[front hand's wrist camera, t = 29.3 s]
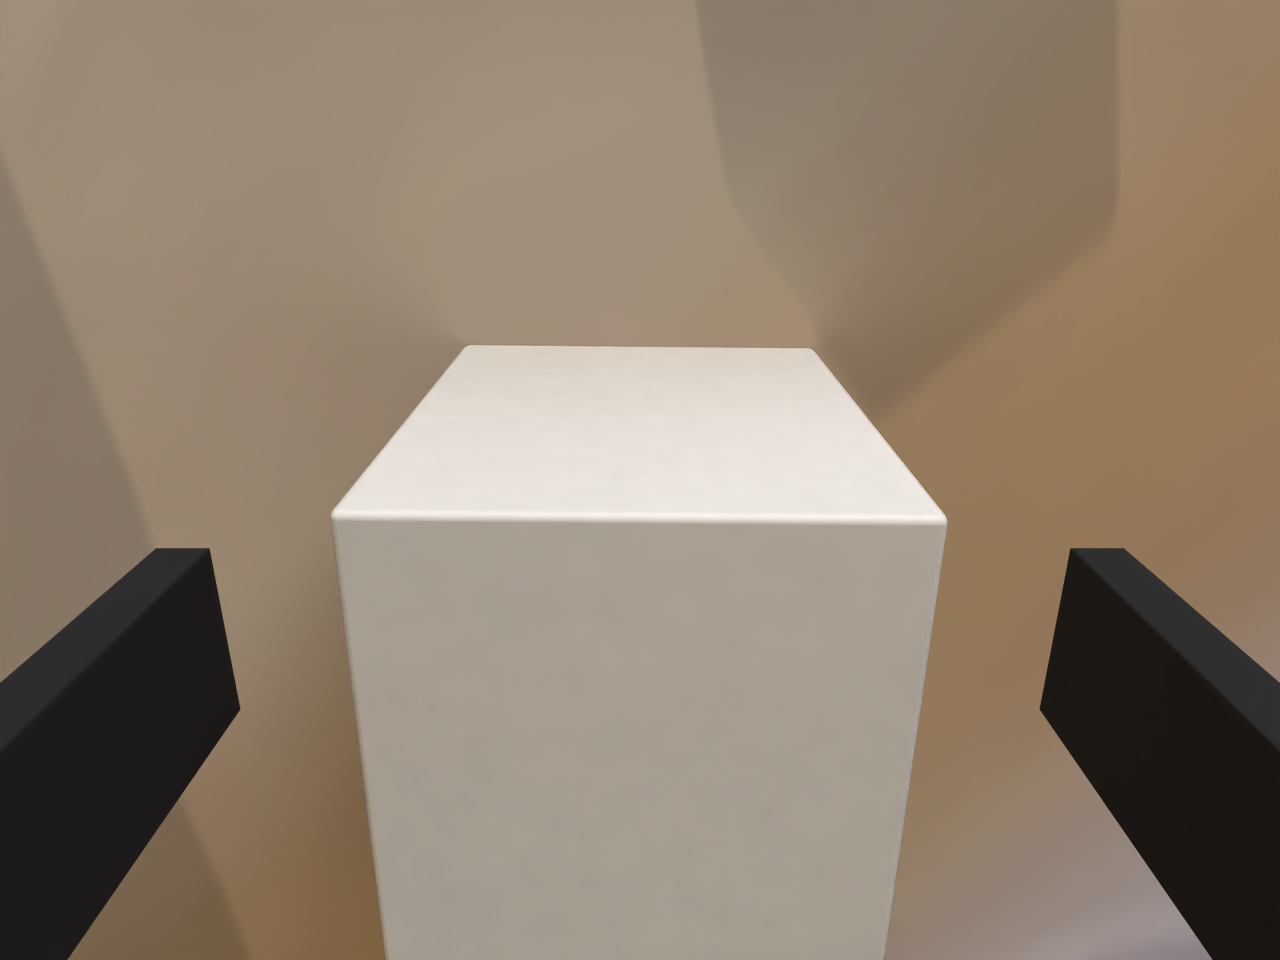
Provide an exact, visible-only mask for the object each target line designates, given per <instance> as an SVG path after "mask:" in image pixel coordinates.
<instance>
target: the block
mask: <svg viewBox="0 0 1280 960" xmlns="http://www.w3.org/2000/svg"><path fill="white" fill-rule="evenodd" d="M330 519H331V527H332V535H333V543H334V551H335V559H336V567H337V575H338V583H339V591H340V599H341V607H342V615H343V623H344V631H345V639H346V647H347V655H348V663H349V670H350V678H351V686H352V694H353V702H354V710H355V718H356V726H357V734H358V742H359V750H360V758H361V766H362V774H363V782H364V790H365V798H366V806H367V814H368V822H369V830H370V838H371V846H372V854H373V862H374V870H375V878H376V886H377V894H378V902H379V910H380V918H381V926H382V934H383V942H384V950H385V958H386V960H884V954H885V947H886V940H887V934H888V927H889V920H890V913H891V906H892V899H893V892H894V886H895V879H896V872H897V865H898V858H899V851H900V845H901V838H902V831H903V824H904V817H905V810H906V803H907V797H908V790H909V783H910V776H911V769H912V762H913V756H914V749H915V742H916V735H917V728H918V721H919V714H920V708H921V701H922V694H923V687H924V680H925V673H926V667H927V660H928V653H929V646H930V639H931V632H932V625H933V619H934V612H935V605H936V598H937V591H938V584H939V577H940V571H941V564H942V557H943V550H944V543H945V536H946V530H947V519H946V516H945V515H944V514H943V512H942V511H941V510H940V509H939V507H938V506H937V505H936V504H935V502H934V501H933V500H932V499H931V497H930V496H929V495H928V494H927V492H926V491H925V490H924V489H923V487H922V486H921V485H920V484H919V482H918V481H917V480H916V479H915V477H914V476H913V475H912V473H911V472H910V471H909V470H908V468H907V467H906V466H905V465H904V463H903V462H902V461H901V460H900V458H899V457H898V456H897V455H896V453H895V452H894V451H893V450H892V448H891V447H890V446H889V445H888V443H887V442H886V441H885V440H884V438H883V437H882V436H881V435H880V433H879V432H878V431H877V430H876V428H875V427H874V426H873V425H872V423H871V422H870V421H869V420H868V418H867V417H866V416H865V415H864V413H863V412H862V411H861V410H860V408H859V407H858V406H857V405H856V403H855V402H854V401H853V399H852V398H851V397H850V396H849V394H848V393H847V392H846V391H845V389H844V388H843V387H842V386H841V384H840V383H839V382H838V381H837V379H836V378H835V377H834V376H833V374H832V373H831V372H830V371H829V369H828V368H827V367H826V366H825V364H824V363H823V362H822V361H821V359H820V358H819V357H818V356H817V354H816V353H815V352H814V351H813V350H812V349H803V348H697V347H591V346H485V345H469V346H466V347H465V348H464V349H463V350H462V351H461V353H460V354H459V355H458V356H457V357H456V359H455V360H454V361H453V362H452V364H451V365H450V366H449V367H448V369H447V370H446V371H445V372H444V374H443V375H442V376H441V377H440V379H439V380H438V381H437V382H436V383H435V385H434V386H433V387H432V388H431V390H430V391H429V392H428V393H427V395H426V396H425V397H424V398H423V400H422V401H421V402H420V403H419V404H418V406H417V407H416V408H415V409H414V411H413V412H412V413H411V414H410V416H409V417H408V418H407V419H406V421H405V422H404V423H403V424H402V425H401V427H400V428H399V429H398V430H397V432H396V433H395V434H394V435H393V437H392V438H391V439H390V440H389V442H388V443H387V444H386V445H385V447H384V448H383V449H382V450H381V451H380V453H379V454H378V455H377V456H376V458H375V459H374V460H373V461H372V463H371V464H370V465H369V466H368V468H367V469H366V470H365V471H364V472H363V474H362V475H361V476H360V477H359V479H358V480H357V481H356V482H355V484H354V485H353V486H352V487H351V489H350V490H349V491H348V492H347V494H346V495H345V496H344V497H343V498H342V500H341V501H340V502H339V503H338V505H337V506H336V507H335V508H334V510H333V511H332V514H331V517H330Z"/></svg>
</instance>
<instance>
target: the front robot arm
mask: <svg viewBox="0 0 1280 960" xmlns="http://www.w3.org/2000/svg"><path fill="white" fill-rule="evenodd" d="M239 711H240V705H239V700H238V694H237V689H236V684H235V679H234V674H233V668H232V663H231V658H230V653H229V648H228V642H227V637H226V632H225V627H224V621H223V616H222V611H221V606H220V601H219V595H218V590H217V585H216V580H215V575H214V569H213V564H212V559H211V554H210V549H209V548H156V549H155V550H154V551H153V552H151V553H150V554H149V555H148V556H147V557H146V558H144V559H143V560H142V561H141V562H140V563H139V564H138V565H136V566H135V567H134V568H133V569H132V570H131V571H129V572H128V573H127V574H126V575H125V576H124V577H122V578H121V579H120V580H119V581H118V582H117V583H115V584H114V585H113V586H112V587H111V588H110V589H109V590H107V591H106V592H105V593H104V594H103V595H102V596H100V597H99V598H98V599H97V600H96V601H95V602H93V603H92V604H91V605H90V606H89V607H88V608H87V609H85V610H84V611H83V612H82V613H81V614H80V615H78V616H77V617H76V618H75V619H74V620H73V621H71V622H70V623H69V624H68V625H67V626H66V627H65V628H63V629H62V630H61V631H60V632H59V633H58V634H56V635H55V636H54V637H53V638H52V639H51V640H49V641H48V642H47V643H46V644H45V645H44V646H42V647H41V648H40V649H39V650H38V651H37V652H36V653H34V654H33V655H32V656H31V657H30V658H29V659H27V660H26V661H25V662H24V663H23V664H22V665H20V666H19V667H18V668H17V669H16V670H15V671H14V672H12V673H11V674H10V675H9V676H8V677H7V678H5V679H4V680H3V681H2V682H1V683H0V960H67V959H68V958H69V957H70V955H71V954H72V952H73V951H74V949H75V948H76V946H77V945H78V944H79V942H80V941H81V939H82V938H83V936H84V935H85V933H86V932H87V931H88V929H89V928H90V926H91V925H92V923H93V922H94V920H95V919H96V918H97V916H98V915H99V913H100V912H101V910H102V909H103V907H104V906H105V904H106V903H107V902H108V900H109V899H110V897H111V896H112V894H113V893H114V891H115V890H116V889H117V887H118V886H119V884H120V883H121V881H122V880H123V878H124V877H125V876H126V874H127V873H128V871H129V870H130V868H131V867H132V865H133V864H134V863H135V861H136V860H137V858H138V857H139V855H140V854H141V852H142V851H143V849H144V848H145V847H146V845H147V844H148V842H149V841H150V839H151V838H152V836H153V835H154V834H155V832H156V831H157V829H158V828H159V826H160V825H161V823H162V822H163V821H164V819H165V818H166V816H167V815H168V813H169V812H170V810H171V809H172V808H173V806H174V805H175V803H176V802H177V800H178V799H179V797H180V796H181V794H182V793H183V792H184V790H185V789H186V787H187V786H188V784H189V783H190V781H191V780H192V779H193V777H194V776H195V774H196V773H197V771H198V770H199V768H200V767H201V766H202V764H203V763H204V761H205V760H206V758H207V757H208V755H209V754H210V753H211V751H212V750H213V748H214V747H215V745H216V744H217V742H218V741H219V740H220V738H221V737H222V735H223V734H224V732H225V731H226V729H227V728H228V726H229V725H230V724H231V722H232V721H233V719H234V718H235V716H236V715H237V713H238V712H239ZM1040 711H1041V712H1042V713H1043V715H1044V716H1045V718H1046V719H1047V721H1048V722H1049V724H1050V725H1051V726H1052V728H1053V729H1054V731H1055V732H1056V734H1057V735H1058V737H1059V738H1060V739H1061V741H1062V742H1063V744H1064V745H1065V747H1066V748H1067V750H1068V751H1069V753H1070V754H1071V755H1072V757H1073V758H1074V760H1075V761H1076V763H1077V764H1078V766H1079V767H1080V768H1081V770H1082V771H1083V773H1084V774H1085V776H1086V777H1087V779H1088V780H1089V781H1090V783H1091V784H1092V786H1093V787H1094V789H1095V790H1096V792H1097V793H1098V794H1099V796H1100V797H1101V799H1102V800H1103V802H1104V803H1105V805H1106V806H1107V807H1108V809H1109V810H1110V812H1111V813H1112V815H1113V816H1114V818H1115V819H1116V821H1117V822H1118V823H1119V825H1120V826H1121V828H1122V829H1123V831H1124V832H1125V834H1126V835H1127V836H1128V838H1129V839H1130V841H1131V842H1132V844H1133V845H1134V847H1135V848H1136V849H1137V851H1138V852H1139V854H1140V855H1141V857H1142V858H1143V860H1144V861H1145V862H1146V864H1147V865H1148V867H1149V868H1150V870H1151V871H1152V873H1153V874H1154V876H1155V877H1156V878H1157V880H1158V881H1159V883H1160V884H1161V886H1162V887H1163V889H1164V890H1165V891H1166V893H1167V894H1168V896H1169V897H1170V899H1171V900H1172V902H1173V903H1174V904H1175V906H1176V907H1177V909H1178V910H1179V912H1180V913H1181V915H1182V916H1183V917H1184V919H1185V920H1186V922H1187V923H1188V925H1189V926H1190V928H1191V929H1192V931H1193V932H1194V933H1195V935H1196V936H1197V938H1198V939H1199V941H1200V942H1201V944H1202V945H1203V946H1204V948H1205V949H1206V951H1207V952H1208V954H1209V955H1210V957H1211V958H1212V959H1213V960H1280V683H1279V682H1278V681H1277V680H1276V679H1275V678H1273V677H1272V676H1271V675H1270V674H1269V673H1268V672H1267V671H1265V670H1264V669H1263V668H1262V667H1261V666H1260V665H1258V664H1257V663H1256V662H1255V661H1254V660H1253V659H1251V658H1250V657H1249V656H1248V655H1247V654H1246V653H1244V652H1243V651H1242V650H1241V649H1240V648H1239V647H1238V646H1236V645H1235V644H1234V643H1233V642H1232V641H1231V640H1229V639H1228V638H1227V637H1226V636H1225V635H1224V634H1222V633H1221V632H1220V631H1219V630H1218V629H1217V628H1216V627H1214V626H1213V625H1212V624H1211V623H1210V622H1209V621H1207V620H1206V619H1205V618H1204V617H1203V616H1202V615H1200V614H1199V613H1198V612H1197V611H1196V610H1195V609H1193V608H1192V607H1191V606H1190V605H1189V604H1188V603H1187V602H1185V601H1184V600H1183V599H1182V598H1181V597H1180V596H1178V595H1177V594H1176V593H1175V592H1174V591H1173V590H1171V589H1170V588H1169V587H1168V586H1167V585H1166V584H1165V583H1163V582H1162V581H1161V580H1160V579H1159V578H1158V577H1156V576H1155V575H1154V574H1153V573H1152V572H1151V571H1149V570H1148V569H1147V568H1146V567H1145V566H1144V565H1142V564H1141V563H1140V562H1139V561H1138V560H1137V559H1136V558H1134V557H1133V556H1132V555H1131V554H1130V553H1129V552H1127V551H1126V550H1125V549H1124V548H1071V549H1070V554H1069V559H1068V564H1067V570H1066V575H1065V580H1064V585H1063V590H1062V596H1061V601H1060V606H1059V611H1058V616H1057V622H1056V627H1055V632H1054V637H1053V642H1052V648H1051V653H1050V658H1049V663H1048V668H1047V674H1046V679H1045V684H1044V689H1043V694H1042V700H1041V705H1040Z"/></svg>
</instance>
